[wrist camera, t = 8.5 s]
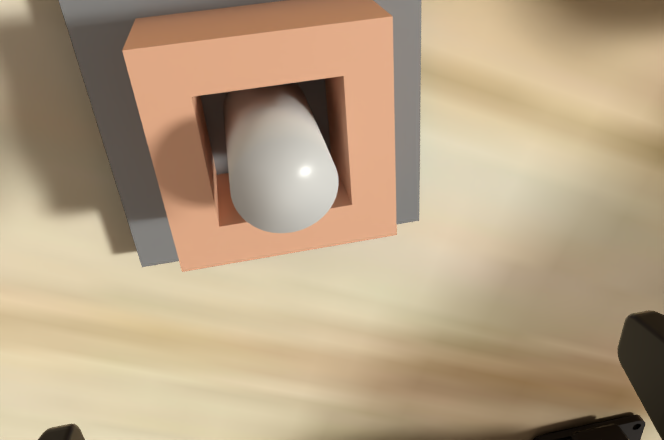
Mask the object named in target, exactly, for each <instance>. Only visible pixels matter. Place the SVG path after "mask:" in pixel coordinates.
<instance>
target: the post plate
mask: <svg viewBox="0 0 664 440" xmlns="http://www.w3.org/2000/svg"><path fill="white" fill-rule="evenodd" d="M277 1H286V0H59V3H60V6H61V9H62V13H63V16H64V19H65V22H66V25H67V29H68V32H69V35H70V38H71V41H72V45H73V48H74V51H75V54H76V57H77V61H78V64H79V67H80V70H81V73H82V77H83V80H84V83H85V86H86V89H87V93H88V96H89V99H90V102H91V105H92V109H93V112H94V115H95V118H96V121H97V125H98V128H99V131H100V134H101V137H102V140H103V144H104V147H105V150H106V153H107V156H108V160H109V163H110V166H111V169H112V172H113V176H114V179H115V182H116V185H117V188H118V192H119V195H120V198H121V201H122V204H123V208H124V211H125V214H126V217H127V220H128V224H129V227H130V230H131V233H132V236H133V240H134V243H135V246H136V249H137V252H138V256H139V259H140V262H141V265H142V267H146V266H151V265H157V264H163V263H169V262H175V261H179V258H178V255H177V251H176V247H175V244H174V240H173V236H172V232H171V229H170V225H169V221H168V218H167V214H166V210H165V207H164V203H163V199H162V196H161V192H160V188H159V184H158V181H157V177H156V173H155V170H154V166H153V162H152V159H151V155H150V151H149V148H148V144H147V140H146V137H145V133H144V129H143V125H142V122H141V118H140V114H139V111H138V107H137V103H136V100H135V96H134V92H133V89H132V85H131V81H130V77H129V74H128V70H127V66H126V63H125V59H124V55H123V52H122V50H123V47H124V45H125V43H126V40H127V38H128V35H129V33H130V31H131V28H132V26H133V23H134V21H135V19H136V18H144V17H152V16H161V15H169V14H177V13H186V12H194V11H202V10H211V9H219V8H227V7H236V6H244V5H252V4H261V3H269V2H277ZM373 1H375V2H376V3H377V4H378V5H379V6H381V7H382V8H383V9H384V10H386V11H387V12H388V13H389V14H390V15H392V16H393V59H394V114H395V169H396V224H401V223H407V222H413V221H419V180H420V80H421V0H373ZM201 101H202V106H203V111H204V115H205V120H206V125H207V130H208V135H209V140H210V145H211V149H212V154H213V159H214V164H215V169H216V174H217V175H218V174H225V173H229V183H230V193H231V198H232V202H233V204H234V207H235V209H236V210H237V212H238V213H239V214H240V216H241V217H242V218H243V219H244V220H245V221H246V222H248V223H249V224H251V225H252V226H254V227H256V228H258V229H261V230H263V231H267V232H272V233H291V232H296V231H299V230H302V229H305V228H307V227H309V226H311V225H313V224H314V223H316V222H317V221H319V220H320V219H321V218H322V217H323V216H324V215H325V214H326V213H327V212H328V211H329V209H330V208H331V206H332V205H333V203H334V201H335V198H336V195H337V192H338V173H337V170H336V167H335V164H334V162H333V160H332V157H331V147H330V135H329V124H328V112H327V100H326V88H325V79H317V80H310V81H303V82H296V83H288V84H281V85H274V86H266V87H259V88H252V89H245V90H237V91H230V92H223V93H215V94H208V95H201Z"/></svg>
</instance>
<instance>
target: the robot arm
mask: <svg viewBox="0 0 664 440" xmlns="http://www.w3.org/2000/svg"><path fill="white" fill-rule="evenodd" d="M618 358H619V361H620V363H621V365H622V367H623V369H624V371H625V373H626V375H627V376H628V378H629V380H630V382H631V384H632V386H633V387H634V389H635V391H636V393H637V395H638V397H639V398H640V400H641V402H642V404H643V406H644V408H645V410H646V411H647V413H648V415H649V417H650V419H651V421H652V422H653V424H654V426H655V428H656V430H657V432H658V433H659V435H660V437H661V438H662V440H664V315H662V314H660V313H658V312H655V311H643V312H638V313H633V314H630V315H629V316H628V317H627V318H626V319H625V322H624V326H623V330H622V334H621V337H620V341H619V345H618ZM644 427H645V422H644V421H643V419H642V418H641V417H640V415H632V416H627V417H623V418H618V419H614V420H609V421H605V422H600V423H596V424H591V425H586V426H582V427H577V428H573V429H568V430H564V431H559V432H555V433H550V434H546V435H541V436H538V437H536V438H535V439H534V440H640V439H641V436H642V433H643V430H644ZM38 440H85V439H84V437H83V435H82V432H81V430H80V429H79V427H78V426H77V425H75V424H67V425H62V426H57V427H52V428H49V429H47V430H46V431H45V432H44V433H43V434H42V435H41V436H40V438H39V439H38Z"/></svg>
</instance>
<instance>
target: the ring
mask: <svg viewBox="0 0 664 440" xmlns="http://www.w3.org/2000/svg"><path fill="white" fill-rule="evenodd" d="M122 52H123V55H124V59H125V63H126V66H127V70H128V74H129V77H130V81H131V85H132V89H133V92H134V96H135V100H136V103H137V107H138V111H139V114H140V118H141V122H142V125H143V129H144V133H145V137H146V140H147V144H148V148H149V151H150V155H151V159H152V162H153V166H154V170H155V173H156V177H157V181H158V184H159V188H160V192H161V196H162V199H163V203H164V207H165V210H166V214H167V218H168V221H169V225H170V229H171V232H172V236H173V240H174V244H175V247H176V251H177V255H178V258H179V262H180V266H181V269H182V272H184V271H190V270H196V269H201V268H207V267H213V266H219V265H225V264H230V263H236V262H242V261H248V260H254V259H259V258H265V257H271V256H277V255H283V254H288V253H294V252H300V251H306V250H311V249H317V248H323V247H329V246H335V245H340V244H346V243H352V242H358V241H364V240H369V239H375V238H381V237H387V236H393V235H397V225H396V169H395V114H394V59H393V16H392V15H390V14H389V13H388V12H387V11H386V10H384V9H383V8H382V7H381V6H379V5H378V4H377V3H376V2H375V1H373V0H286V1H277V2H269V3H261V4H252V5H244V6H236V7H227V8H219V9H211V10H202V11H194V12H186V13H177V14H169V15H161V16H152V17H144V18H136V19H135V21H134V23H133V26H132V28H131V31H130V33H129V35H128V38H127V40H126V43H125V45H124V47H123V50H122ZM317 79H325V88H326V100H327V112H328V124H329V135H330V147H331V157H332V160H333V162H334V164H335V167H336V170H337V173H338V192H337V195H336V198H335V201H334V203H333V205H332V206H331V208H330V209H329V211H328V212H327V213H326V214H325V215H324V216H323V217H322V218H321V219H320V220H319V221H317V222H316V223H314V224H313V225H311V226H309V227H307V228H305V229H302V230H299V231H296V232H291V233H272V232H267V231H263V230H261V229H258V228H256V227H254V226H252V225H251V224H249V223H248V222H246V221H245V220H244V219H243V218H242V217H241V216H240V214H239V213H238V212H237V210H236V209H235V207H234V204H233V202H232V198H231V193H230V183H229V173H225V174H218V175H217V174H216V169H215V164H214V159H213V154H212V149H211V145H210V140H209V135H208V130H207V125H206V120H205V115H204V111H203V106H202V101H201V95H208V94H215V93H223V92H230V91H237V90H245V89H252V88H259V87H266V86H274V85H281V84H288V83H296V82H303V81H310V80H317Z"/></svg>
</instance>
